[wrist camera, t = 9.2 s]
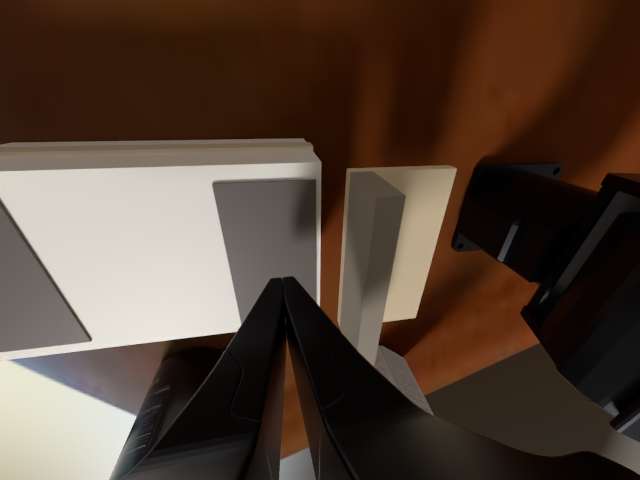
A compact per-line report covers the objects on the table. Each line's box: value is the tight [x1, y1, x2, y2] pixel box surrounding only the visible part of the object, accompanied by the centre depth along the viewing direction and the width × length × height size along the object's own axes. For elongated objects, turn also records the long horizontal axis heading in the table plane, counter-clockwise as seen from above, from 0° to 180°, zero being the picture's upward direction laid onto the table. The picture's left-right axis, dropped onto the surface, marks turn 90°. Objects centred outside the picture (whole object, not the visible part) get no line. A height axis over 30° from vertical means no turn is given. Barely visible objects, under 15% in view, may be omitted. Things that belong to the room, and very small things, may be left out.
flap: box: [338, 165, 457, 366], centre depth 10 cm, size 4×8×3 cm, turn 179°
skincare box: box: [374, 345, 433, 415], centre depth 21 cm, size 6×4×12 cm
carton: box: [0, 138, 321, 361], centre depth 12 cm, size 14×8×6 cm, turn 89°
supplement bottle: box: [109, 348, 224, 480], centre depth 17 cm, size 7×7×12 cm
